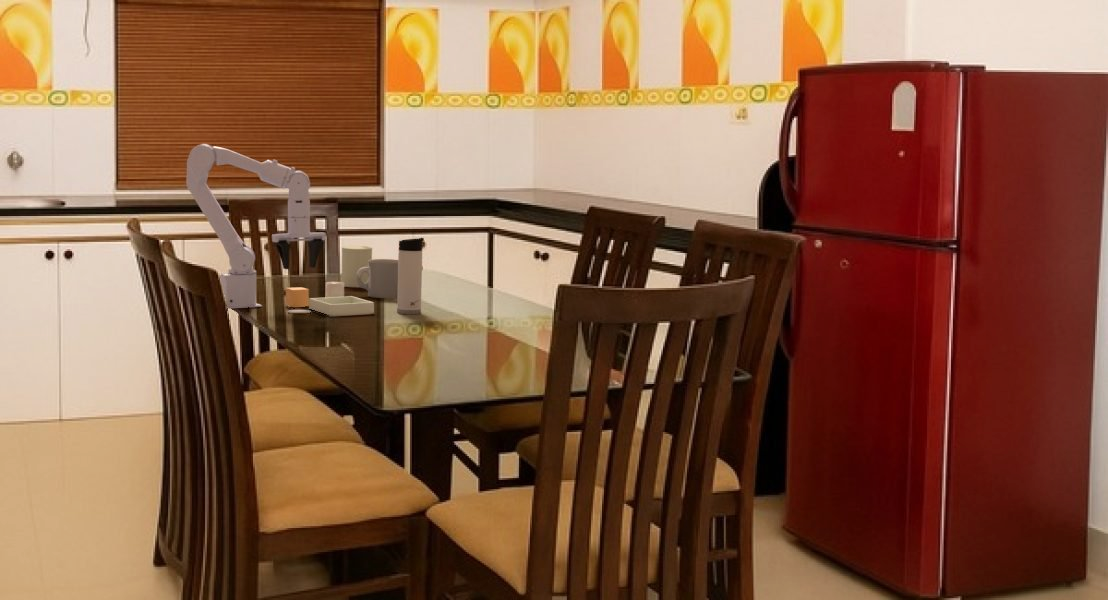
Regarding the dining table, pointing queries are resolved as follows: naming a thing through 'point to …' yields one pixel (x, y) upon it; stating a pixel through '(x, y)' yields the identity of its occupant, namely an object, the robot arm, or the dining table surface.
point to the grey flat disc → (299, 311)
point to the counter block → (297, 297)
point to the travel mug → (409, 276)
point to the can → (354, 264)
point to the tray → (341, 306)
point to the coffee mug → (380, 278)
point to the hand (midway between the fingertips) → (299, 268)
